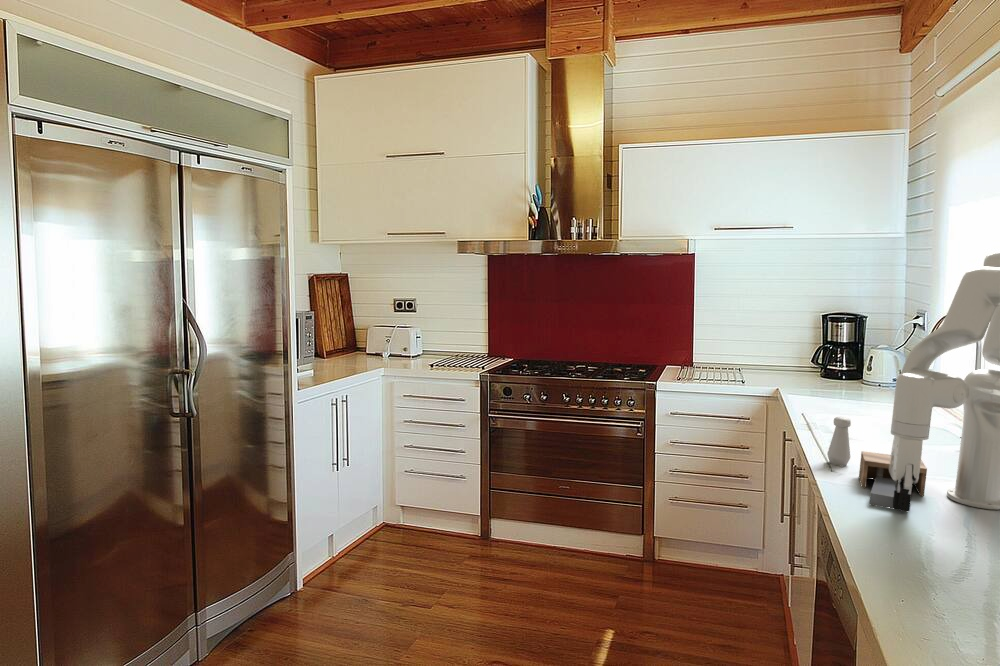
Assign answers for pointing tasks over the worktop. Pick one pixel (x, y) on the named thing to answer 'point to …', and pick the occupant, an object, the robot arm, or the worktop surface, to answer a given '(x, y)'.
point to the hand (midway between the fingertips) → (900, 509)
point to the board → (883, 492)
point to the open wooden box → (884, 469)
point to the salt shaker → (840, 442)
